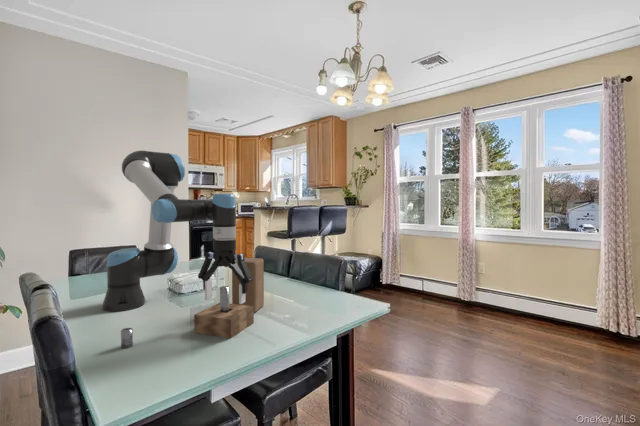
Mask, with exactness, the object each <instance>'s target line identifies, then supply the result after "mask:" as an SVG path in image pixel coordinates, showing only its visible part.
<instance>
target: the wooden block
mask: <svg viewBox="0 0 640 426" xmlns="http://www.w3.org/2000/svg"><path fill="white" fill-rule="evenodd" d="M244 259H245V262H246V265H247V267H248V269H249V272H250V274H251V276H252V278H253V281H251V282H249V283H248V284H247V293H245V302H244V303H242V304H239V284H241V282H240V281H239V279H238V278H237V277H236V275H235V274H234V272H233V271H232V270H231V288H232V289H231V294H232V295H231V296H232V297H231V298H232V299H231V300H232V301H231V304H238V305H246V306H254V313H256V312H257V311H259V310H260V309H261V308H262V307H263V306H264V305H265V294H264V293H265V291H264V289H265V286H264V285H265V282H264V281H265V278H264V276H265V273H264V272H265V271H264V269H265V266H264V265H265V264H264V263H265V262H264V261H265V260H264V259H263V258H262V257H261V258H258V257H257V258H256V257H244ZM235 261H236V263H237V264H238V261H237V260H236V259H235ZM238 267H239V264H238ZM239 268H240V267H239ZM240 270H241V269H240Z"/></svg>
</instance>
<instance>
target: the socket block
mask: <svg viewBox="0 0 640 426" xmlns="http://www.w3.org/2000/svg"><path fill="white" fill-rule="evenodd" d="M254 315H255V312H254V306H246V305H238V304H232V303H229V312H228V313H223V312H220V302H218V303H216V304H214V305H212V306H209V307H207V308H205V309H203V310H201V311H200V312H197V313H195V314H194V318H193V319H194V320H193V321H194V326H193V327H194V333H195V334H201V335H207V336H215V337H219V338H226V339H232V338H234V337H235V336H236V335H238V334H239V333H241V332H242V331H244V330H246V329H247V328H248V327H250V326H251V325H253V324H254V323H255V318H254Z"/></svg>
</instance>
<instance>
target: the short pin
mask: <svg viewBox="0 0 640 426" xmlns="http://www.w3.org/2000/svg"><path fill="white" fill-rule="evenodd" d="M133 341H134V340H133V328H132V327H126V328H122V329H121V330H120V348H121V349H125V350H126V349H130V348H132V347H133V346H134V342H133Z"/></svg>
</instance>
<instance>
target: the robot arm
mask: <svg viewBox="0 0 640 426" xmlns="http://www.w3.org/2000/svg"><path fill="white" fill-rule="evenodd" d="M121 172H122V174H123V176H124V177H125V178H126V179H127V181H128V182H130V183H132V184H134V185H135V186H136V187H137V188H138V189H139V190H140V192H141V193H142V194H143V195H144V196H145V197H146V199H148V201H149V202H150V213H149V225H148V226H149V230H148V231H149V232H148V241H147V242H146V243H145V244H144V245H143V250H140V248H139V247H129V248H128V247H127V248H121V249H117V250H114V251H112V252H110V253H108V255H107V258H106V269H107V270H106V273H107V274H106V278H107V281H106V282H107V283H106V284H107V290H106V293H105V296H104V300H103V302H102V310H103V311H105V312H106V311H107V312H123V311H129V310H133V309H137V308H140V307H141V306H143V305H145V303H146V297H145V295H144V292H143V289H142V286H141V279H144V278H149V277H155V276H164V275H166V274H170V273H173V271H174V270H175V269H176V267H177V265H178V261H179V258H178V251H177V249H176V248H174V244H172V243H171V232H172V223H182V222H185V223H186V222H204V221H205V222H212V238H213V241H212V250H213V252H212V251H209V252H206V253H205V256H204V257H205V259H204V260H203V263H202V265H201V269H200V271H199V273H198V275H197V279H201V280H202V282H203V283H202V287H203V290H204V300H205V301H208V300H211V299H212V297H213V292H212V291H213V290H212V289H213V288H212V287H213V286H212V285H213V283H212V282H213V281H212V280H213V279H211V277H212V276H213V275H214V273H215V272H216V271H217V269H218V268H219V267H225V268H229V269H230V270H231V272H232V271H233V272H234V274H235V275H236V277H237V278H238V279H239V281H240V282H241V284H239V304H242V303H244V302H245V293H247V284H248V283H249V282H251V281H253V278H252V276H251V274H250V272H249V269H248V267H247V265H246V262H245V259H244V258H245V254H244V253H239V254H237V253H236V250H237V241H236V239H235V238H237V223H236V222H237V220H236V219H237V216H236V215H237V204H236V196H235V194H233V193H213V195H212V199H183V198H182V199H181V198H180V199H179V198H178V197H177V196H176V195H175V193H174V192H175V189H177V188H178V187H179V183H180V182H182V181H183V180H184V178H185V176H186V175H185V174H186V168H185V164H184V161H183V160H182V158H181V157H180V156H179V155H177V154H173V153H169V152H168V153H167V152H158V151H147V150H136V151H133V152H131V153H129V154H127V155H126V157H124V159H123V161H122V163H121ZM213 259H214V261H213ZM236 260H237V261H238V264H239V267H240V268H239V267H238V264H237V263H236ZM212 261H213V262H212ZM240 269H241V270H240Z"/></svg>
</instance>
